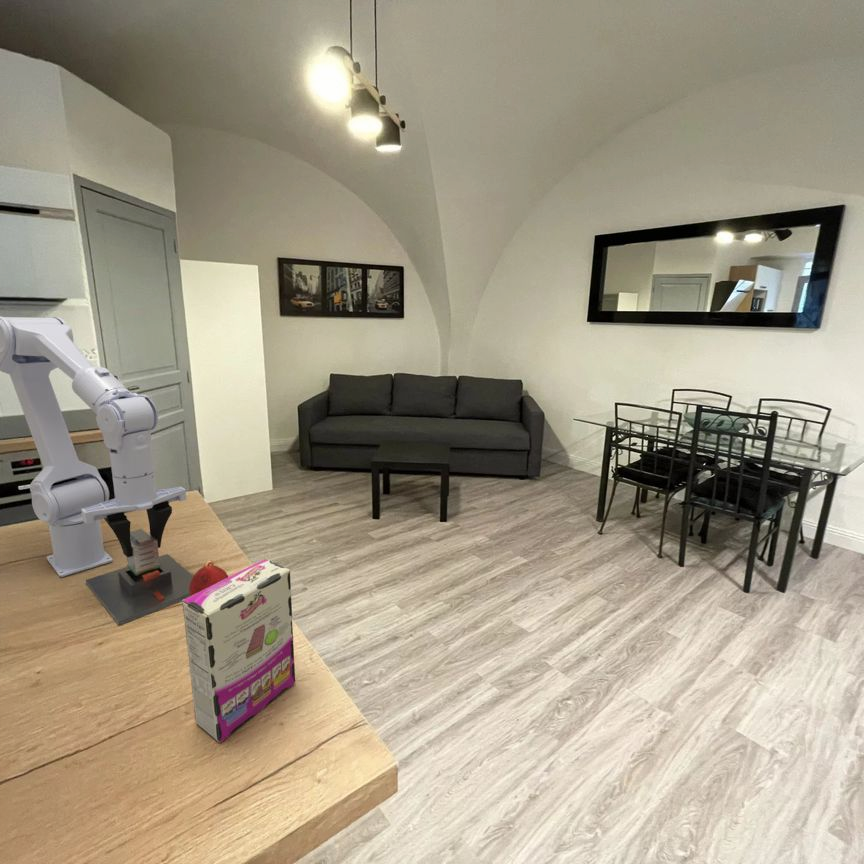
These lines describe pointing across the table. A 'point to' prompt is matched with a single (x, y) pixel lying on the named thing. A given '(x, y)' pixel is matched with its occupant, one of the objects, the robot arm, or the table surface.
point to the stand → (141, 589)
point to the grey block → (143, 552)
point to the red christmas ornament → (206, 577)
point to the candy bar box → (239, 646)
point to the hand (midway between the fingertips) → (142, 550)
